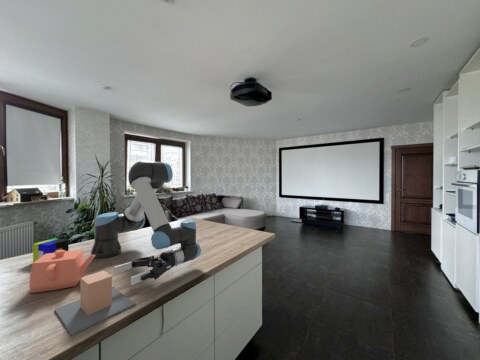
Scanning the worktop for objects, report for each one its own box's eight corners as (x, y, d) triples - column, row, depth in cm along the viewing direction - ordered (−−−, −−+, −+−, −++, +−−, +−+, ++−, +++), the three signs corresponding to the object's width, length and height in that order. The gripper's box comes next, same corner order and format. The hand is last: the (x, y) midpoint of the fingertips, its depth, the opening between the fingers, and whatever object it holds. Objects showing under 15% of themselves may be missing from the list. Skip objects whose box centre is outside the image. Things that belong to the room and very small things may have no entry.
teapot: (20, 302, 74) (20, 263, 74) (48, 275, 94) (48, 244, 94) (88, 291, 82) (88, 255, 82) (100, 268, 102) (100, 240, 102)
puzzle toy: (48, 265, 105) (48, 245, 105) (33, 263, 107) (33, 243, 107) (68, 257, 115) (68, 239, 115) (53, 256, 117) (54, 238, 117)
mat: (54, 310, 70) (54, 308, 70) (113, 288, 84) (113, 286, 84) (71, 335, 59) (71, 333, 59) (135, 305, 73) (135, 303, 73)
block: (80, 307, 71) (80, 277, 71) (103, 297, 76) (103, 270, 76) (87, 315, 67) (88, 284, 66) (111, 304, 72) (112, 276, 72)
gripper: (188, 274, 88) (139, 297, 71) (156, 260, 103) (108, 275, 86) (189, 256, 87) (139, 275, 71) (156, 244, 103) (108, 257, 86)
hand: (122, 275), depth 78 cm, fingers open, 13 cm apart
